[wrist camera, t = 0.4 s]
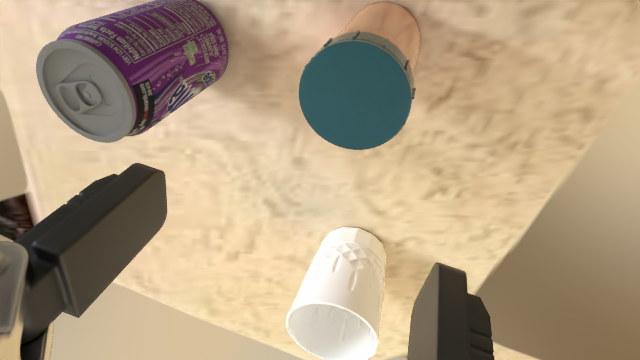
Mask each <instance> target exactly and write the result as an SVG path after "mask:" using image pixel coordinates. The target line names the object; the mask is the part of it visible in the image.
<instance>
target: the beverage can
mask: <svg viewBox="0 0 640 360" xmlns="http://www.w3.org/2000/svg"><path fill="white" fill-rule="evenodd" d="M227 62H228V44H227V39H226V36H225V33H224V31H223V29H222V27H221V25H220V23H219V22H218V20H217V19H216V17H215V16H214V15H213V14H212V13H211V11H210V10H209V9H207V8H206V7H205V6H204V5H202V4H201V3H200V2H198V1H196V0H155V1H152V2H149V3H145V4H142V5H139V6H135V7H132V8H129V9H126V10H122V11H119V12H116V13H112V14H109V15H106V16H102V17H99V18H96V19H92V20H89V21H86V22H82V23H79V24H76V25H73V26H71V27H69V28H67V29H66V30H65V31H63V32H62V33H61V34H60V36H59V37H58V39H57V40H56V41H54V42H51V43H49V44H47V45H46V46H44V47H43V48H42V50H41V51H40V53H39V55H38V58H37V63H36V72H37V78H38V82H39V85H40V88H41V90H42V93H43V95H44V97H45V99H46V100H47V102H48V104H49V105H50V107H51V108H52V109H53V111H54V112H55V113H56V114H57V115H58V117H59V118H60V119H61V120H62V121H63V122H64V123H66V124H67V125H68V126H69V127H70V128H72V129H73V130H74V131H76V132H77V133H79V134H81V135H82V136H84V137H86V138H89V139H91V140H94V141H98V142H105V143H109V142H115V141H118V140H120V139H122V138H123V137H125V136H135V135H139V134H141V133H143V132H145V131H147V130H148V129H150V128H151V127H153V126H154V125H155V124H157V123H158V122H160V121H161V120H162V119H164V118H165V117H167V116H168V115H169V114H171V113H172V112H174V111H175V110H176V109H178V108H179V107H180V106H182V105H183V104H185V103H186V102H187V101H189V100H190V99H192V98H193V97H194V96H196V95H197V94H199V93H200V92H201V91H203V90H204V89H206V88H207V87H208V86H210V85H211V84H213V83H214V82H215V81H217V80H218V79H219V78H220V77H221V76H222V74H223V73H224V71H225V69H226V66H227Z"/></svg>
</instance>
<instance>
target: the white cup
mask: <svg viewBox="0 0 640 360" xmlns="http://www.w3.org/2000/svg"><path fill="white" fill-rule="evenodd" d="M386 259H387V254H386V252H385V249H384V246H383V244H382V243H381V242H380V241H379V240H378V239H377V238H376V237H375V236H374V235H373V234H371V233H369V232H366V231H364V230H362V229H359V228H350V227H342V228H339V229H336V230H333V231H331V232H330V233H329V234H328V235H327V236H326V237H325V238H324V240H323V241H322V243H321V246H320V248H319V250H318V253H317V254H316V256H315V257H314V259H313V261H312V263H311V266H310V267H309V269H308V271H307V273H306V275H305V277H304V280H303V282H302V284H301V286H300V288H299V291H298V293H297V295H296V297H295V299H294V302H293V304H292V306H291V308H290V310H289V312H288V315H287V317H286V327H287V330H288V332H289V334H290V336H291V337H292V339H293V340H294V341H295V342H296V343H297V344H298V345H299V346H300V347H301V348H303V349H304V350H306V351H307V352H309V353H310V354H312V355H314V356H316V357H319V358H321V359H324V360H368V359H369V358H371V357H372V356H373V355H374V354H375V353H376V351H377V349H378V346H379V337H380V327H381V318H382V310H383V301H384V289H385V267H386Z"/></svg>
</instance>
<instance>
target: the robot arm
mask: <svg viewBox="0 0 640 360" xmlns="http://www.w3.org/2000/svg"><path fill="white" fill-rule="evenodd" d="M166 215H167V198H166V181H165V174H164V172H163V171H161V170H158V169H155V168H152V167H149V166H146V165H143V164H140V163H135V164H133V165H131V166H130V167H129V168H127V169H126V170H125V171H124V172H122V173H121V174H120V175H116V174H112V175H110V176H107V177H104V178H102V179H99V180H97V181H94V182H93V183H92V184H90V185H89V186H88V187H86V188H85V189H84V190H82V191H81V192H80V193H79V195H76V196H74V197H73V198H72V199H70V200H69V201H68V202H67V204H66V205H65V204H64V205H62V206H61V207H60V208H58V209H57V210H56V211H54V212H53V213H52V214H50V215H49V216H48V217H46V218H45V219H44V220H42V221H41V222H40V223H38V224H37V225H36V226H34V227H33V228H32V229H30V230H29V231H27V232H26V233H25V234H23V235H22V236H21V237H19V238H18V239H17V240H15V241H14V242H9V241H0V360H50V356H51V348H52V340H53V331H54V323H53V321H54V320H55V319H56V318H57V317H58V316H59V315H60V314H61V313H62V312H64V313H67V314H70V315H72V316H75V317H78V318H79V317H80V316H81V315H82V314H83V313H84V312H85V310H86V309H87V308H88V307H89V306H90V305H91V304H92V303H93V302H94V301H95V300H96V299H97V297H98V296H99V295H100V294H101V293H102V292H103V291H104V290H105V289H106V288H107V286H108V285H109V284H110V283H111V282H112V281H113V280H114V279H115V278H116V277H117V276H118V275H119V274H120V272H121V271H122V270H123V269H124V268H125V267H126V266H127V265H128V264H129V263H130V262H131V260H132V259H133V258H134V257H135V256H136V255H137V254H138V253H139V252H140V251H141V250H142V249H143V247H144V246H145V245H146V244H147V243H148V242H149V241H150V240H151V239H152V238H153V237H154V235H155V234H156V233H157V232H158V231H159V230H160V229H161V227H162V226H163V224H164V222H165V219H166ZM491 336H492V332H491V323H490V316H489V314H488V312H487V310H486V308H485V306H484V305H483V302H482V300H481V298H480V297H477V296H474V295H471V294H468V293H467V278H466V273H465V271H462V270H459V269H456V268H453V267H450V266H447V265H444V264H441V263H438V262H437V263H435V265H434V266H433V268H432V270H431V272H430V273H429V275H428V277H427V279H426V281H425V283H424V285H423V286H422V288H421V290H420V292H419V294H418V296H417V298H416V300H415V303H414V307H413V310H412V315H411V324H410V335H409V346H408V357H407V360H494V356H493V352H494V351H493V342H492V339H491Z"/></svg>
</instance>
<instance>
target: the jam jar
mask: <svg viewBox="0 0 640 360" xmlns="http://www.w3.org/2000/svg"><path fill="white" fill-rule="evenodd" d="M358 30H360V32H368V33H373V34H376V35H379V36H382V37H384V38H385V39H387V38H389V41H390V42H392V43H393V44H394V45H396V46H397V47H398V48H399V49H400V50H401V52H402V53H403V54H404V55H405V57H406V59H407V60H409V61H410V62H409V64H410V67H411V70H412V73H413V74H414V69H415V64H416V60H417V55H418V51H419V46H420V31H419V27H418V25H417V22H416V20H415V19H414V17H413V16H412V15H411V13H410V12H408V11H407V10H406V9H405V8H403V7H402V6H400V5H397V4H394V3H390V2H380V3H375V4H372V5H369V6H368V7H366V8H364V9H363V10H361V11H360V12H359V13H358V14H357V15H356V16H355V18H354V19H353V20H352V21H351V22H350V23H349V24H348V25H347V26H346V28H345V29H344V30H343V31H342V32H341V33H340V34H339V35H338V36H340V35H343V34H346V33H350V32H357V31H358Z"/></svg>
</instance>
